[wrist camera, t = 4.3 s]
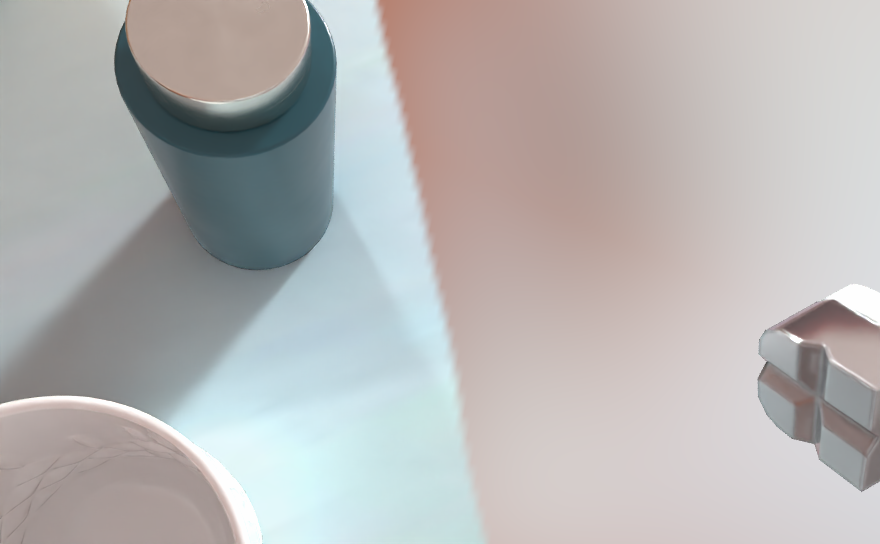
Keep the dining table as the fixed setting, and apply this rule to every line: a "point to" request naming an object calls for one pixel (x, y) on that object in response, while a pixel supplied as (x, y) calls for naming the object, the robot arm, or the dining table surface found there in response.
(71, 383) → the dining table surface
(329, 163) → the spray can
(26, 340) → the dining table surface
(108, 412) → the white cup
